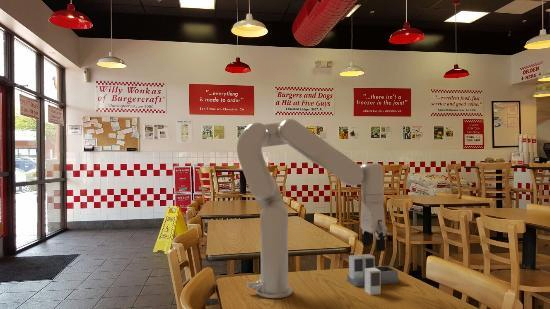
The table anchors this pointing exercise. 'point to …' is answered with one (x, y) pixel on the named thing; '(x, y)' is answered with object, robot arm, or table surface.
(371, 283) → the pale grey block
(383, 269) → the grey block holder
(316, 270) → the table surface
